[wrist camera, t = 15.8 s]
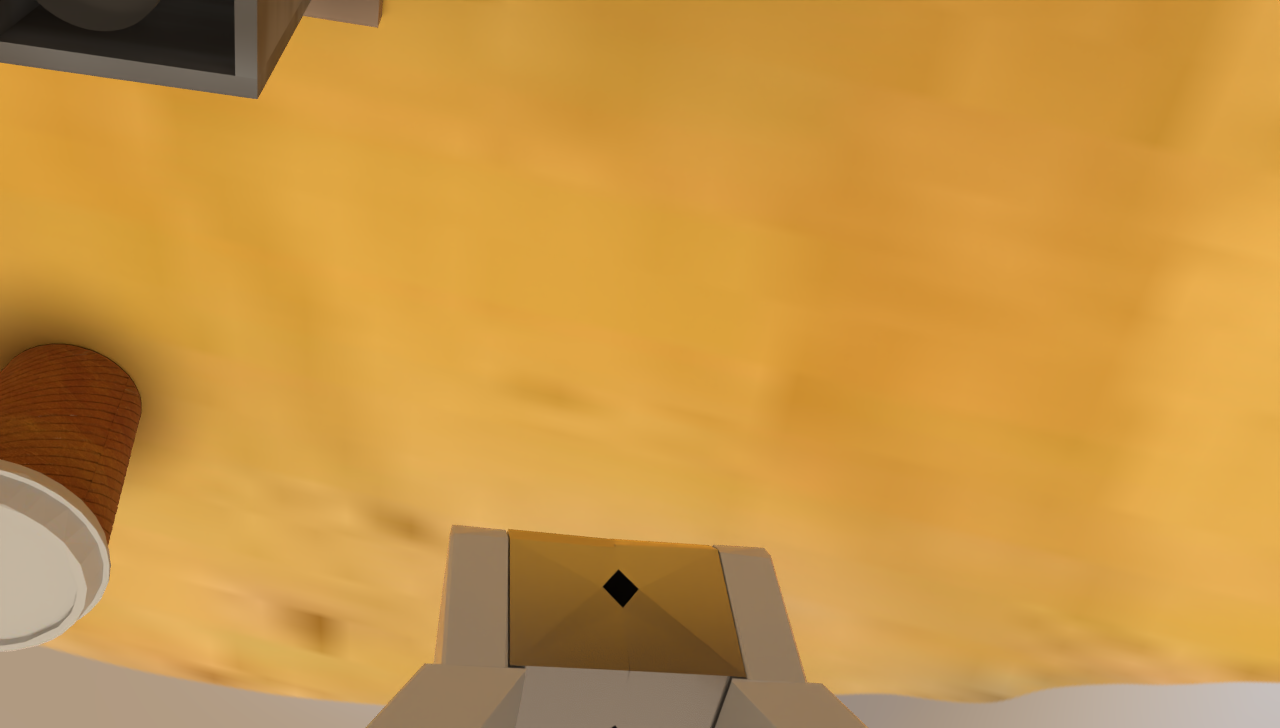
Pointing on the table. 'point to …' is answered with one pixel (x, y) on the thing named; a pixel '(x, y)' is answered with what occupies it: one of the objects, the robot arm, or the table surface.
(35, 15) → the stand
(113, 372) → the disposable coffee cup
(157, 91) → the table surface
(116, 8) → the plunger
